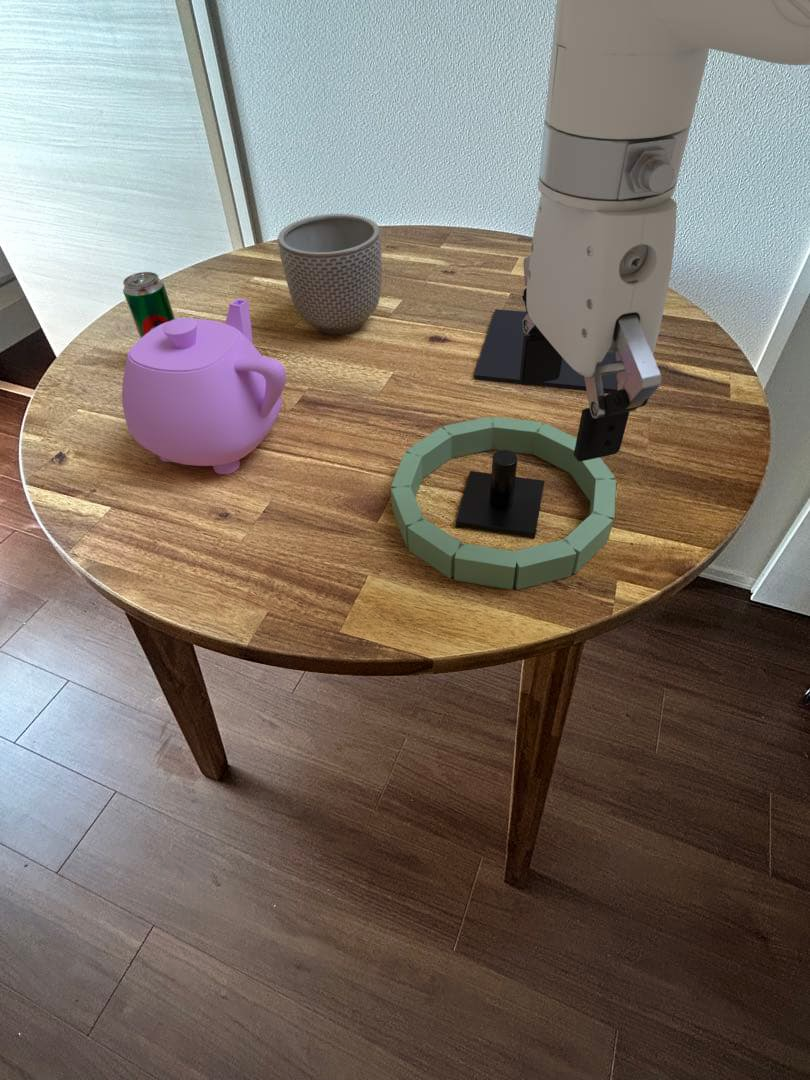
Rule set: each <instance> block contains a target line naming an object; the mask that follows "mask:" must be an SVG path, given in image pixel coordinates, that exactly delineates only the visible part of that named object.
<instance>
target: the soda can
mask: <svg viewBox="0 0 810 1080" xmlns="http://www.w3.org/2000/svg"><path fill="white" fill-rule="evenodd" d="M122 283H123V289H122V293H123V295H124V298H125V301H126V303H127V306H128V309H129V311H130V314H131V317H132V319H133V322H134V325H135V328H136V331H137V334H138V336H139V340H140V339H141V338H142V337H143V336H144V335H146V334H147V333H148V332H149V331H151V330H152V329H154V328H155V327H157V326H159V325H161V324H163V323H166V322H169V321H171V320H174V319H176V317H175V315H174V312H173V307H172V305H171V302H170V299H169V296H168V292H167V290H166V287H165V283H164V281H162V280H161V278H159V274H157V273H156V272H152V271H140V272H136V273H133V274H130V275H128V276H127V277H125V278H124V279H123V282H122Z"/></svg>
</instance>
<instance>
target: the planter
mask: <svg viewBox="0 0 810 1080" xmlns="http://www.w3.org/2000/svg"><path fill="white" fill-rule="evenodd" d="M382 246H383V245H382V233H381V229H380V227H379V225H378V224H377V223H376V221H373V220H372V219H370V218H367V217H364V216H361V215H355V214H349V213H329V214H319V215H314V216H309V217H305V218H302V219H299V220H296V221H294V222H292V223H290V224H288V225H287V226H285V227H284V228H283V229H282V230H281V231H280V232H279V233H278V236H277V248H278V253H279V256H280V261H281V265H282V269H283V271H284V272H283V273H284V277H285V280H286V283H287V287H288V291H289V295H290V297H291V300H292V303H293V306H294V307H295V310H296V311H297V313H298V315H299V316H300V317H301V318H302V319H303V320H305V321H306V322H308V323H309V324H310V325H313V326H315V327H316V328H317V329H318V330H319V331H320V332H322V333H324V334H328V335H345V334H350V333H353V332H354V331H357V330H358V329H360V328H361V327H362V326H363V324H364V322H366V320H367V319H369V318H370V317H371V316H372V315H373V314H374V312H375V311H376V309H377V308H378V306H379V304H380V303H379V302H380V298H381V292H382V291H381V290H382V273H383V270H382V269H383V268H382V265H383V263H382V260H383V259H382V251H383V250H382Z"/></svg>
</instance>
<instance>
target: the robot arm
mask: <svg viewBox="0 0 810 1080" xmlns="http://www.w3.org/2000/svg"><path fill="white" fill-rule="evenodd" d="M554 13H555V14H554V23H553V34H552V44H551V54H550V64H549V73H548V74H549V75H548V85H547V94H546V105H545V115H544V120H543V121H544V123H543V129H542V131H543V132H542V142H541V151H540V160H539V170H538V181H537V189H538V191H539V192H540V196H539V201H538V205H537V211H536V217H535V223H534V228H533V234H532V241H531V247H530V253H529V254H530V255H529V256H525V257H524V258H523V263H522V264H523V274H524V276H523V277H524V286H525V288H524V290H523V293H522V294H523V295H522V301H523V302H524V306H525V312H527V315H526V316H525V317H524V319H523V323H522V325H523V331H524V333H525V334H530V336H524V339H523V349H522V359H521V368H520V378H519V379H520V381H521V383H522V384H521V385H523V386H530V385H531V384H536V383H541V382H547V381H552V380H556V379H558V378H559V375H560V370H561V363H562V358H563V359H564V360H565V361H566V362H567V363H568V364H569V365H570V366H571V367H572V368H573V369H574V370H575V371H576V372H578V373H579V374H581V375H583V376H584V379H585V385H586V390H585V391H586V396H587V403H588V407H587V408H585V409H582V410H581V413H580V414H581V415H580V420H579V426H578V431H577V435H576V438H577V440H576V445H575V451H574V456H575V457H576V459H577V460H578V461H585V460H590V459H595V458H599V457H600V458H603V457H608V456H614V455H616V454H618V452H619V451H620V450H621V447H622V443H623V439H624V435H625V431H626V427H627V424H628V420H629V416H630V412H634V411H636V410H637V409H639V408H641V407H644V406H646V405H647V403H648V400H649V399H650V397H652V395H653V394H655V392H656V391H657V390H658V389H659V387H660V386H661V385H662V381H663V378H662V373H661V371H660V368H659V366H658V364H657V361H656V358H655V357H654V354H655V350H656V346H657V343H658V337H659V335H660V334H659V333H660V329H661V325H662V320H663V315H664V310H665V306H666V301H667V296H668V290H669V286H670V279H671V273H672V267H673V258H674V252H675V251H674V250H675V242H676V241H675V240H676V231H677V230H676V229H677V211H678V210H677V209H678V204H677V202H676V201H675V200H674V199H673V198H672V197H673V196H674V194H675V191H676V187H677V183H678V178H679V174H680V170H681V166H682V162H683V159H684V155H685V154H684V153H685V150H686V146H687V142H688V137H689V135H690V134H689V133H690V129H691V125H692V121H693V118H694V114H695V110H696V104H697V103H698V102H697V101H698V97H699V93H700V89H701V85H702V81H703V78H704V72H705V70H706V64H707V61H708V57H709V52H710V50H713V51H718V52H724V53H728V54H732V55H736V56H741V57H745V58H749V59H753V60H756V61H762V62H767V63H772V64H777V65H784V66H785V65H787V66H810V0H556V3H555V12H554ZM614 351H615V355H616V362H611V363H605V364H600V365H597V363H598V362H602V360H603V359H604V357H605V355H606V354H607V353H612V352H614ZM616 372H617V373H616ZM611 373H616V375H617V382H618V389H617V391H614V392H612V393H607V394H606V395H605V392H603V386H602V380H601V375H606V374H611ZM531 386H532V385H531Z"/></svg>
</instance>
